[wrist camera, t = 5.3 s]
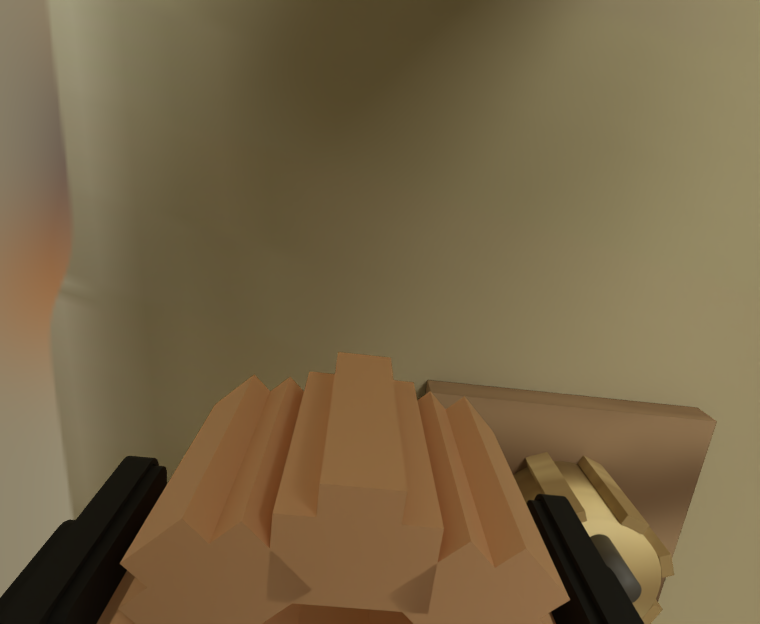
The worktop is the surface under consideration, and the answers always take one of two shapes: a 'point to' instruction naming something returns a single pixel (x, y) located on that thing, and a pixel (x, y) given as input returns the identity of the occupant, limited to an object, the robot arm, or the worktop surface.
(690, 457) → the gear board
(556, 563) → the robot arm
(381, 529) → the terracotta gear
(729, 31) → the worktop surface
